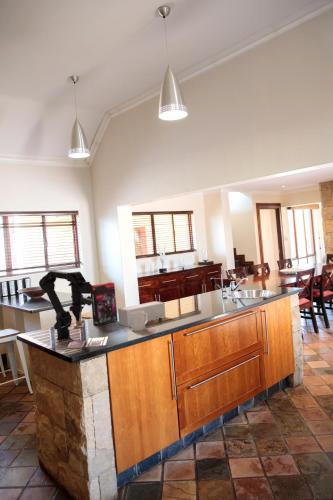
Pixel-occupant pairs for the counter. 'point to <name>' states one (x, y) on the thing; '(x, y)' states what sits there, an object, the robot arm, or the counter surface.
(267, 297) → the counter surface
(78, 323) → the stamp
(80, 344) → the ink pad
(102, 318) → the graphics card box
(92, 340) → the sheet
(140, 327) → the mug
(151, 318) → the light grey long box
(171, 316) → the counter surface
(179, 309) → the counter surface
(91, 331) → the counter surface
